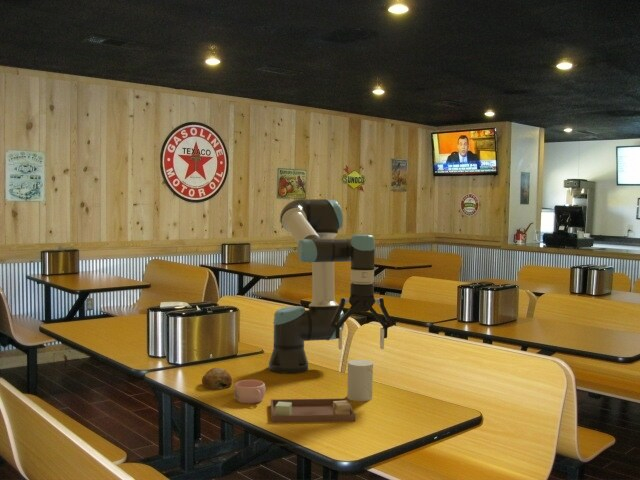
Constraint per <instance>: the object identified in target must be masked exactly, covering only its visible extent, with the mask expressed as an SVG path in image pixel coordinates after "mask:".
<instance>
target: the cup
mask: <svg viewBox="0 0 640 480" xmlns="http://www.w3.org/2000/svg"><path fill="white" fill-rule="evenodd" d="M373 383H374V362H373V361H371V360H366V359H351V360H349V361H348V362H347V386H346V387H347V393H346V394H347V395H346V396H347V397H346V399H348V400H349V401H350V400H351V401H352V402H353V401H354V402H368V401H371V400H373V386H374V385H373Z"/></svg>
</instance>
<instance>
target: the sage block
mask: <svg viewBox="0 0 640 480" xmlns="http://www.w3.org/2000/svg"><path fill="white" fill-rule="evenodd" d="M275 415H292V402H278V403H277V404H276V414H275Z"/></svg>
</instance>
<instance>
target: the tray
mask: <svg viewBox="0 0 640 480" xmlns="http://www.w3.org/2000/svg"><path fill="white" fill-rule="evenodd" d="M344 400H346V401H347V402H348V403H349V404H350V414H333V401H344ZM278 402H292V415H275V414H276V404H277V403H278ZM270 413H271V415H270V417H271V423H311V422H312V423H318V422H319V423H321V422H322V423H323V422H328V423H330V422H356V413H355V411H354V409H353V406H352V404H351V402H350V399H348V398H289V399H288V398H284V399H281V398H280V399H279V398H278V399H274V398H273V399H272V398H271V399H270Z"/></svg>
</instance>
